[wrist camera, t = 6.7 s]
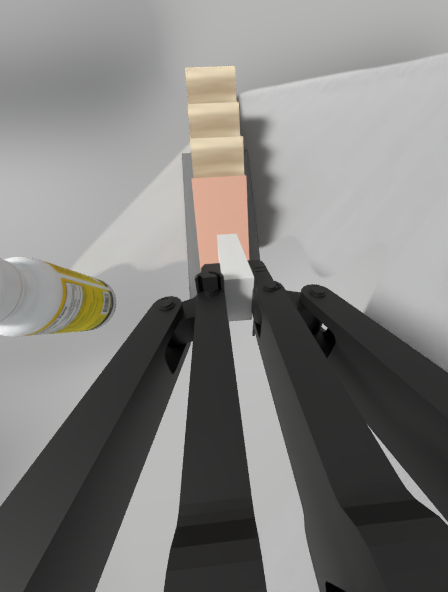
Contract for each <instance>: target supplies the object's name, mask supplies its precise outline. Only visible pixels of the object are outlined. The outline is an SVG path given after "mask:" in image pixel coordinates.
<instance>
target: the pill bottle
mask: <svg viewBox="0 0 448 592" xmlns="http://www.w3.org/2000/svg"><path fill="white" fill-rule="evenodd" d="M115 308H116V298H115V294H114V292H113V290H112V289H111V287H110V286H109V285H108V284H106V283H105V282H103V281H101V280H98V279H95V278H93V277H89V276H86V275H83V274H80V273H77V272H74V271H71V270H68V269H65V268H62V267H59V266H56V265H53V264H50V263H47V262H44V261H41V260H38V259H34V258H28V257H13V258H8V259H4V260H3V259H1V258H0V335H3V336H26V335H41V334H52V333H65V332H78V331H88V330H93V329H97V328H99V327H101V326H102V325H104V324H105V323H106V322H108V321H109V320H110V318H111V317H112V315H113V314H114V311H115Z"/></svg>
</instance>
